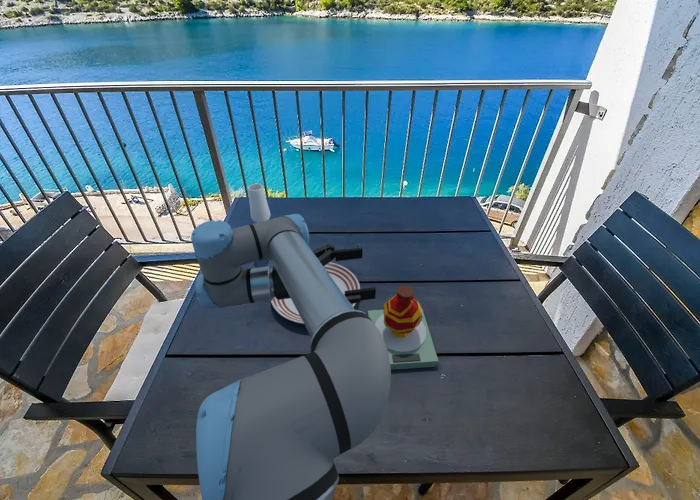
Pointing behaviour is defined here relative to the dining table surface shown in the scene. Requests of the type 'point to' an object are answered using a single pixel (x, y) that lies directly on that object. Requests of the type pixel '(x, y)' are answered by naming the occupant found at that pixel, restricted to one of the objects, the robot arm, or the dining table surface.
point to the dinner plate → (340, 277)
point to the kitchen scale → (407, 344)
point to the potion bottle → (402, 312)
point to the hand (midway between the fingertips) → (368, 271)
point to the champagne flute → (258, 203)
